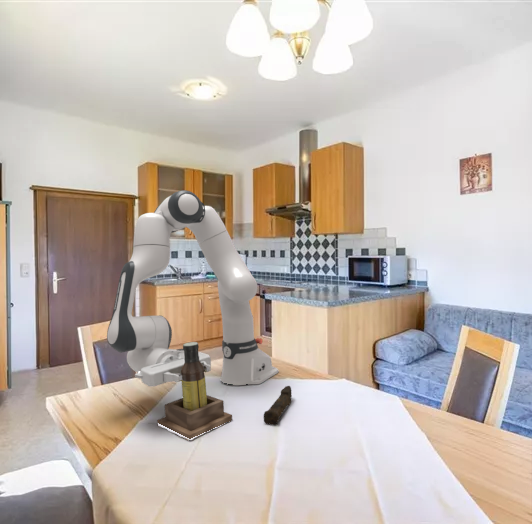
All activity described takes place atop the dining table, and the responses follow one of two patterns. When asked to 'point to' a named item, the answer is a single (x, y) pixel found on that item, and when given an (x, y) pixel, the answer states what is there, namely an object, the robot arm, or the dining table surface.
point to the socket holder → (194, 417)
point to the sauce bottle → (193, 378)
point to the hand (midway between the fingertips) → (194, 373)
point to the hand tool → (278, 407)
